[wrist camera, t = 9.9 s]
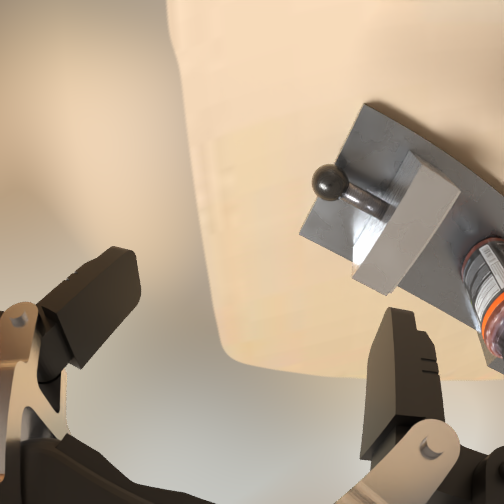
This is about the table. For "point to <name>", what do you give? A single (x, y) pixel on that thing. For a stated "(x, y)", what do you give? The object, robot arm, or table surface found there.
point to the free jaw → (391, 217)
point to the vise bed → (446, 236)
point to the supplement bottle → (487, 290)
